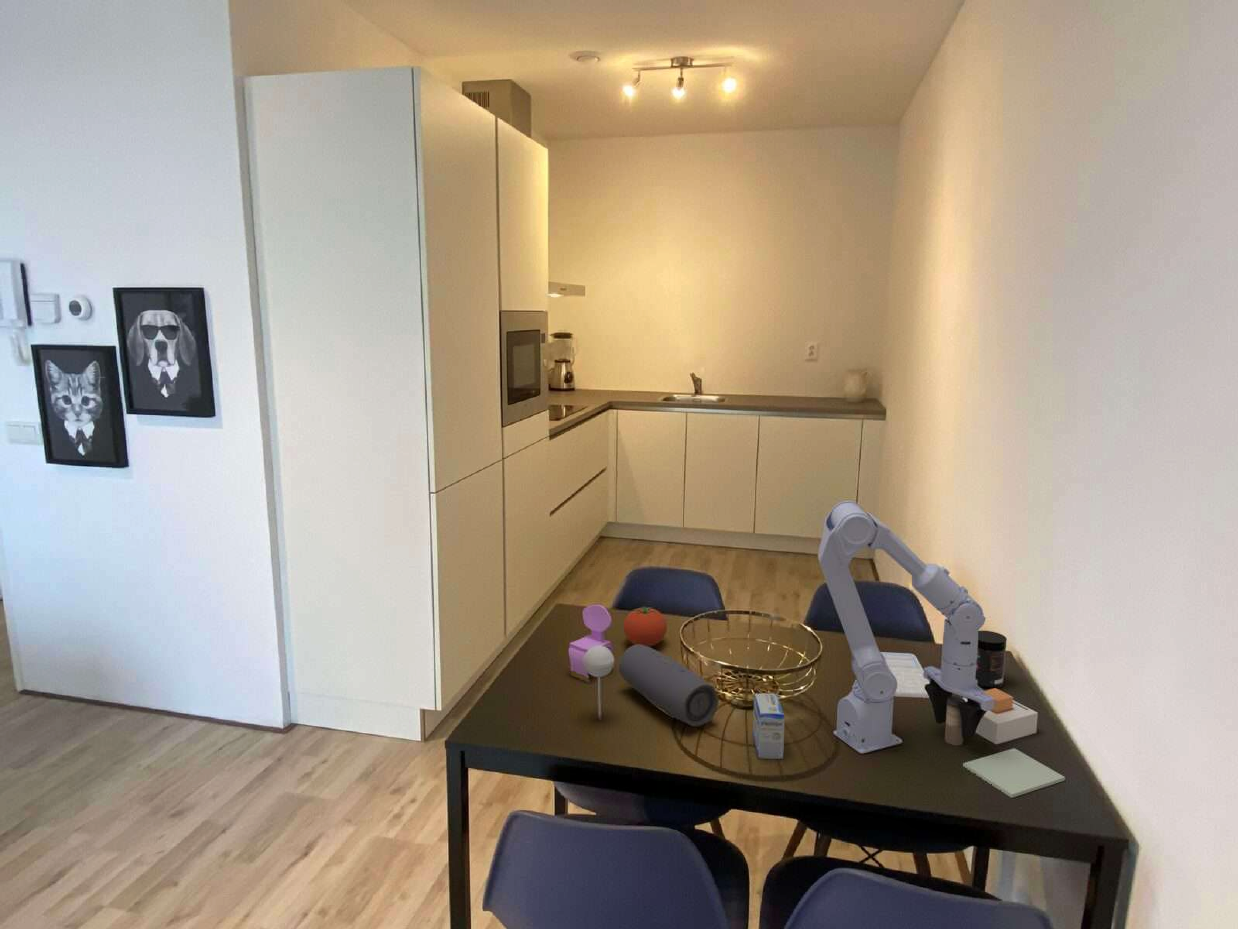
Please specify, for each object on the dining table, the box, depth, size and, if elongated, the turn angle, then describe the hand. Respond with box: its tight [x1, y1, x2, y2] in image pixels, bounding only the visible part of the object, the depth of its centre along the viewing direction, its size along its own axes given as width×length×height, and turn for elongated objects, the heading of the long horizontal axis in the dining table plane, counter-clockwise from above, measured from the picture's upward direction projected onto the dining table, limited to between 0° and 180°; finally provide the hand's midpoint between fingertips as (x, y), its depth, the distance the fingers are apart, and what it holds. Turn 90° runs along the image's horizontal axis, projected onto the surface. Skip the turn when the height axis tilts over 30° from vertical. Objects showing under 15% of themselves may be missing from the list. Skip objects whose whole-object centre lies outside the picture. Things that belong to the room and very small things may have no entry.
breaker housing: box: [961, 697, 1039, 745], centre depth 149 cm, size 10×10×4 cm
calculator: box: [880, 651, 931, 699], centre depth 171 cm, size 13×20×2 cm, turn 172°
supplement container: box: [975, 630, 1007, 690], centre depth 166 cm, size 7×7×10 cm
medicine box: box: [752, 693, 785, 760], centre depth 142 cm, size 8×4×9 cm, turn 178°
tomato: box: [623, 605, 668, 648], centre depth 188 cm, size 10×10×10 cm
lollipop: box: [583, 646, 615, 716], centre depth 153 cm, size 6×6×15 cm
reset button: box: [983, 688, 1014, 714], centre depth 148 cm, size 4×4×3 cm
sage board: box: [962, 748, 1066, 799], centre depth 134 cm, size 12×10×1 cm
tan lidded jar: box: [944, 695, 965, 746], centre depth 144 cm, size 3×3×8 cm
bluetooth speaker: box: [618, 644, 719, 727], centre depth 157 cm, size 23×9×10 cm, turn 32°
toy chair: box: [568, 604, 615, 678], centre depth 173 cm, size 8×9×15 cm
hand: (954, 729), depth 144 cm, fingers open, 6 cm apart
